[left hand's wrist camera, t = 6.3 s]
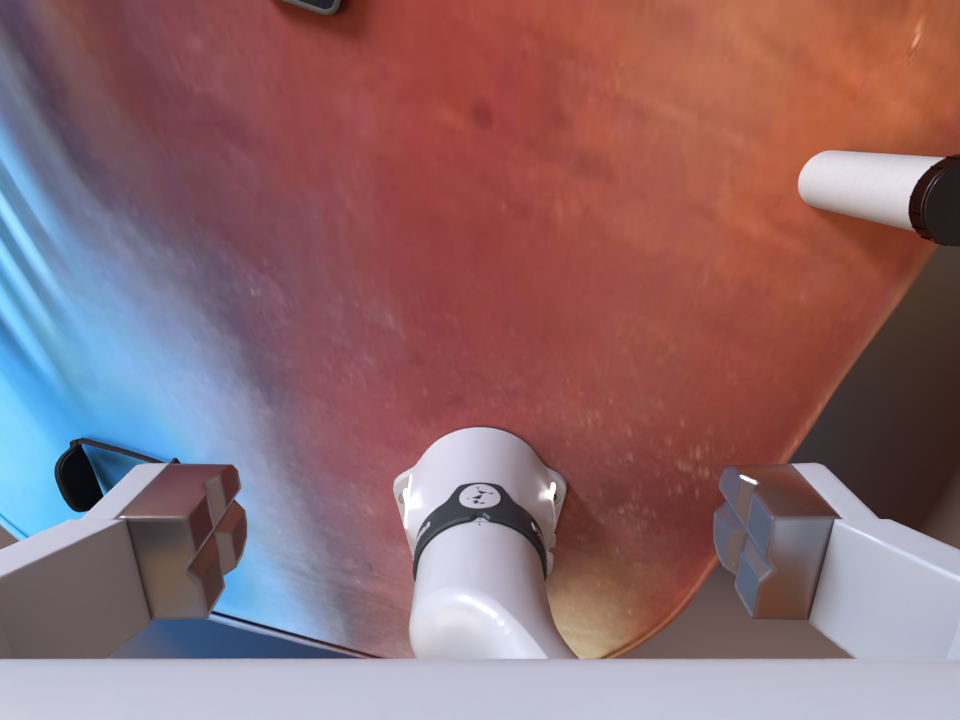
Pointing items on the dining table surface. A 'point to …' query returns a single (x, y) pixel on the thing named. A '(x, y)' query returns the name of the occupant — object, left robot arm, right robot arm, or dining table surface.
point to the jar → (864, 184)
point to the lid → (938, 203)
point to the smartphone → (317, 5)
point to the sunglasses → (85, 474)
